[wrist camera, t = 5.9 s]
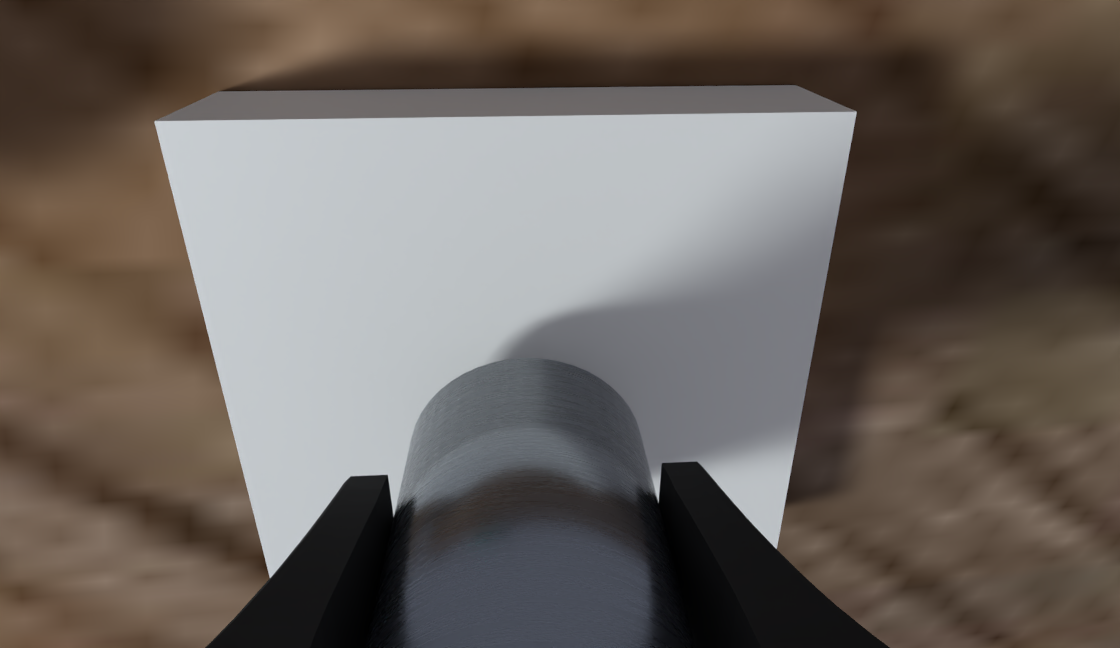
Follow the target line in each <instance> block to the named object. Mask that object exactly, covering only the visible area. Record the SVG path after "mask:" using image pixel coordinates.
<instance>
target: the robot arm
mask: <svg viewBox="0 0 1120 648" xmlns="http://www.w3.org/2000/svg"><path fill="white" fill-rule="evenodd" d="M659 507H660V511H661V515H662V519H663V523H664V527H665V531H666V534H667V538H668V542H669V546H670V550H671V554H672V558H673V562H674V566H675V569H676V573H677V577H678V581H679V585H680V589H681V593H682V597H683V601H684V605H685V608H686V612H687V616H688V620H689V624H690V628H691V632H692V636H693V640H694V643H695V647H696V648H889V647H888V646H887V645H885V644H884V643H883V642H881V641H880V640H879V639H877V638H876V637H875V636H873V635H872V634H871V633H870V632H868V631H867V630H866V629H865V628H863V627H862V626H861V625H860V624H858V623H857V622H856V621H855V620H853V619H852V618H851V617H850V616H849V615H847V614H846V613H845V612H844V611H842V610H841V609H840V608H839V607H837V606H836V605H835V604H834V603H833V602H832V601H830V600H829V599H828V598H827V597H826V596H825V595H824V594H823V593H822V592H820V591H819V590H818V589H817V588H816V587H815V586H814V585H813V584H812V583H811V582H810V581H809V580H807V579H806V578H805V577H804V576H803V575H802V574H801V573H800V572H799V571H798V570H797V569H796V568H795V567H794V566H793V565H792V564H791V563H790V562H789V561H788V560H787V559H786V558H785V557H784V556H783V555H782V554H781V553H780V552H779V551H778V550H777V549H776V548H775V547H774V546H773V545H772V544H771V543H770V542H769V541H768V540H767V539H766V538H765V537H764V536H763V535H762V534H761V532H760V531H759V530H758V529H757V528H756V527H755V526H754V525H753V524H752V523H751V522H750V521H749V520H748V519H747V517H746V516H745V515H744V514H743V513H742V512H741V511H740V510H739V508H738V507H737V506H736V505H735V504H734V503H733V502H732V501H731V499H730V498H729V497H728V496H727V495H726V494H725V492H724V491H723V490H722V489H721V488H720V487H719V485H718V484H717V483H716V482H715V481H714V479H713V478H712V477H711V476H710V475H709V474H708V472H707V471H706V470H705V469H704V468H703V467H702V466H701V465H700V464H699V463H698V462H697V461H695V462H672V463H662V466H661V478H660V491H659ZM393 518H394V516H393V509H392V502H391V494H390V487H389V480H388V475H368V476H350V477H349V478H348V479H347V480H346V481H345V482H344V484H343V485H342V487H341V488H340V489H339V491H338V492H337V493H336V495H335V496H334V498H333V499H332V500H331V502H330V503H329V504H328V506H327V507H326V509H325V510H324V511H323V513H322V514H321V515H320V517H319V518H318V519H317V521H316V522H315V523H314V525H313V526H312V527H311V528H310V530H309V531H308V532H307V534H306V535H305V536H304V538H303V539H302V540H301V541H300V543H299V544H298V545H297V546H296V547H295V549H294V550H293V551H292V552H291V554H290V555H289V556H288V557H287V559H286V560H285V561H284V562H283V564H282V565H281V566H280V567H279V568H278V570H277V571H276V572H275V573H274V574H273V576H272V577H271V578H270V579H269V580H268V581H267V582H266V584H265V585H264V586H263V587H262V588H261V589H260V590H259V591H258V592H257V594H256V595H255V596H254V597H253V598H252V599H251V600H250V601H249V602H248V604H247V605H246V606H245V607H244V608H243V609H242V610H241V611H240V613H239V614H238V615H237V616H236V617H235V618H234V619H233V620H232V621H231V622H230V623H229V624H228V625H227V626H226V627H225V628H224V629H223V630H222V631H221V632H220V634H219V635H218V636H217V637H216V638H215V639H214V640H213V641H212V642H211V643H210V644H209V645H208V646H207V647H205V648H365V644H366V640H367V635H368V631H369V626H370V622H371V617H372V613H373V608H374V604H375V599H376V595H377V590H378V586H379V581H380V577H381V572H382V568H383V563H384V559H385V554H386V550H387V545H388V541H389V536H390V532H391V527H392V523H393Z"/></svg>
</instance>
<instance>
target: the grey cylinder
mask: <svg viewBox="0 0 1120 648" xmlns="http://www.w3.org/2000/svg"><path fill="white" fill-rule="evenodd" d="M365 648H696V647H695V643H694V640H693V636H692V632H691V628H690V624H689V620H688V616H687V612H686V608H685V605H684V601H683V597H682V593H681V589H680V585H679V581H678V577H677V573H676V569H675V566H674V562H673V558H672V554H671V550H670V546H669V542H668V538H667V534H666V531H665V527H664V523H663V519H662V515H661V511H660V507H659V503H658V499H657V496H656V492H655V488H654V484H653V480H652V476H651V472H650V468H649V464H648V460H647V457H646V453H645V449H644V445H643V441H642V437H641V433H640V430H639V427H638V424H637V421H636V418H635V417H634V415H633V413H632V411H631V409H630V407H629V406H628V405H627V403H626V402H625V401H624V399H623V398H622V397H621V396H620V395H619V394H618V393H617V392H616V391H615V390H614V389H613V388H612V387H611V386H610V385H608V384H607V383H606V382H604V381H603V380H602V379H600V378H599V377H597V376H595V375H593V374H591V373H590V372H588V371H586V370H583V369H581V368H578V367H576V366H573V365H570V364H566V363H563V362H559V361H554V360H547V359H538V358H519V359H508V360H503V361H498V362H493V363H489V364H486V365H483V366H480V367H477V368H475V369H473V370H471V371H468V372H466V373H464V374H462V375H461V376H459V377H457V378H456V379H454V380H452V381H451V382H449V383H448V384H447V385H446V386H445V387H443V388H442V389H441V390H440V391H438V392H437V394H436V395H435V396H434V397H433V398H432V399H431V400H430V401H429V402H428V404H427V405H426V407H425V408H424V410H423V411H422V412H421V414H420V416H419V418H418V420H417V423H416V425H415V428H414V431H413V434H412V438H411V442H410V447H409V451H408V456H407V460H406V465H405V469H404V474H403V478H402V483H401V487H400V492H399V496H398V500H397V505H396V509H395V514H394V518H393V523H392V527H391V532H390V536H389V541H388V545H387V550H386V554H385V559H384V563H383V568H382V572H381V577H380V581H379V586H378V590H377V595H376V599H375V604H374V608H373V613H372V617H371V622H370V626H369V631H368V635H367V640H366V644H365Z"/></svg>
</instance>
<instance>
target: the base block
mask: <svg viewBox="0 0 1120 648" xmlns="http://www.w3.org/2000/svg"><path fill="white" fill-rule="evenodd" d="M856 114H857V112H856V111H854V110H852V109H850V108H847V107H845V106H843V105H840V104H838V103H836V102H833V101H831V100H829V99H827V98H824V97H822V96H820V95H817V94H815V93H813V92H810V91H808V90H806V89H804V88H801V87H799V86H797V85H755V86H665V87H576V88H486V89H397V90H307V91H219V92H217V93H214V94H212V95H210V96H208V97H206V98H204V99H201V100H199V101H197V102H195V103H193V104H191V105H188V106H186V107H184V108H182V109H180V110H177V111H175V112H173V113H171V114H169V115H167V116H164V117H162V118H160V119H158V120H156V121H154V122H155V126H156V130H157V134H158V138H159V142H160V145H161V149H162V153H163V157H164V161H165V165H166V169H167V173H168V177H169V181H170V185H171V189H172V193H173V197H174V201H175V205H176V209H177V213H178V217H179V221H180V224H181V228H182V232H183V236H184V240H185V244H186V248H187V252H188V256H189V260H190V264H191V268H192V272H193V276H194V280H195V284H196V288H197V292H198V296H199V300H200V303H201V307H202V311H203V315H204V319H205V323H206V327H207V331H208V335H209V339H210V343H211V347H212V351H213V355H214V359H215V363H216V367H217V371H218V375H219V379H220V382H221V386H222V390H223V394H224V398H225V402H226V406H227V410H228V414H229V418H230V422H231V426H232V430H233V434H234V438H235V442H236V446H237V450H238V454H239V458H240V461H241V465H242V469H243V473H244V477H245V481H246V485H247V489H248V493H249V497H250V501H251V505H252V509H253V513H254V517H255V521H256V525H257V529H258V533H259V537H260V540H261V544H262V548H263V552H264V556H265V560H266V564H267V568H268V572H269V576H270V578H271V577H272V576H273V574H274V573H275V572H276V571H277V570H278V568H279V567H280V566H281V565H282V564H283V562H284V561H285V560H286V559H287V557H288V556H289V555H290V554H291V552H292V551H293V550H294V549H295V547H296V546H297V545H298V544H299V543H300V541H301V540H302V539H303V538H304V536H305V535H306V534H307V532H308V531H309V530H310V528H311V527H312V526H313V525H314V523H315V522H316V521H317V519H318V518H319V517H320V515H321V514H322V513H323V511H324V510H325V509H326V507H327V506H328V504H329V503H330V502H331V500H332V499H333V498H334V496H335V495H336V493H337V492H338V491H339V489H340V488H341V487H342V485H343V484H344V482H345V481H346V480H347V479H348V478H349V477H350V476H368V475H388V480H389V487H390V494H391V502H392V509H393V516H394V514H395V509H396V505H397V500H398V496H399V492H400V487H401V483H402V478H403V474H404V469H405V465H406V460H407V456H408V451H409V447H410V442H411V438H412V434H413V431H414V428H415V425H416V423H417V420H418V418H419V416H420V414H421V412H422V411H423V410H424V408H425V407H426V405H427V404H428V402H429V401H430V400H431V399H432V398H433V397H434V396H435V395H436V394H437V392H438V391H440V390H441V389H442V388H443V387H445V386H446V385H447V384H448V383H449V382H451V381H452V380H454V379H456V378H457V377H459V376H461V375H462V374H464V373H466V372H468V371H471V370H473V369H475V368H477V367H480V366H483V365H486V364H489V363H493V362H498V361H503V360H508V359H519V358H538V359H547V360H554V361H559V362H563V363H566V364H570V365H573V366H576V367H578V368H581V369H583V370H586V371H588V372H590V373H591V374H593V375H595V376H597V377H599V378H600V379H602V380H603V381H604V382H606V383H607V384H608V385H610V386H611V387H612V388H613V389H614V390H615V391H616V392H617V393H618V394H619V395H620V396H621V397H622V398H623V399H624V401H625V402H626V403H627V405H628V406H629V407H630V409H631V411H632V413H633V415H634V417H635V418H636V421H637V424H638V427H639V430H640V433H641V437H642V441H643V445H644V449H645V453H646V457H647V460H648V464H649V468H650V472H651V476H652V480H653V484H654V488H655V492H656V496H657V499H658V503H659V491H660V478H661V466H662V463H672V462H695V461H697V462H698V463H699V464H700V465H701V466H702V467H703V468H704V469H705V470H706V471H707V472H708V474H709V475H710V476H711V477H712V478H713V479H714V481H715V482H716V483H717V484H718V485H719V487H720V488H721V489H722V490H723V491H724V492H725V494H726V495H727V496H728V497H729V498H730V499H731V501H732V502H733V503H734V504H735V505H736V506H737V507H738V508H739V510H740V511H741V512H742V513H743V514H744V515H745V516H746V517H747V519H748V520H749V521H750V522H751V523H752V524H753V525H754V526H755V527H756V528H757V529H758V530H759V531H760V532H761V534H762V535H763V536H764V537H765V538H766V539H767V540H768V541H769V542H770V543H771V544H772V545H773V546H774V547H775V548H776V549H777V544H778V539H779V533H780V528H781V522H782V517H783V512H784V506H785V501H786V495H787V490H788V484H789V479H790V473H791V468H792V462H793V457H794V452H795V446H796V441H797V435H798V430H799V424H800V419H801V413H802V408H803V403H804V397H805V392H806V386H807V381H808V375H809V370H810V364H811V359H812V353H813V348H814V343H815V337H816V332H817V326H818V321H819V315H820V310H821V304H822V299H823V294H824V288H825V283H826V277H827V272H828V266H829V261H830V255H831V250H832V244H833V239H834V234H835V228H836V223H837V217H838V212H839V206H840V201H841V195H842V190H843V184H844V179H845V174H846V168H847V163H848V157H849V152H850V146H851V141H852V135H853V130H854V125H855V119H856Z"/></svg>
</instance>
